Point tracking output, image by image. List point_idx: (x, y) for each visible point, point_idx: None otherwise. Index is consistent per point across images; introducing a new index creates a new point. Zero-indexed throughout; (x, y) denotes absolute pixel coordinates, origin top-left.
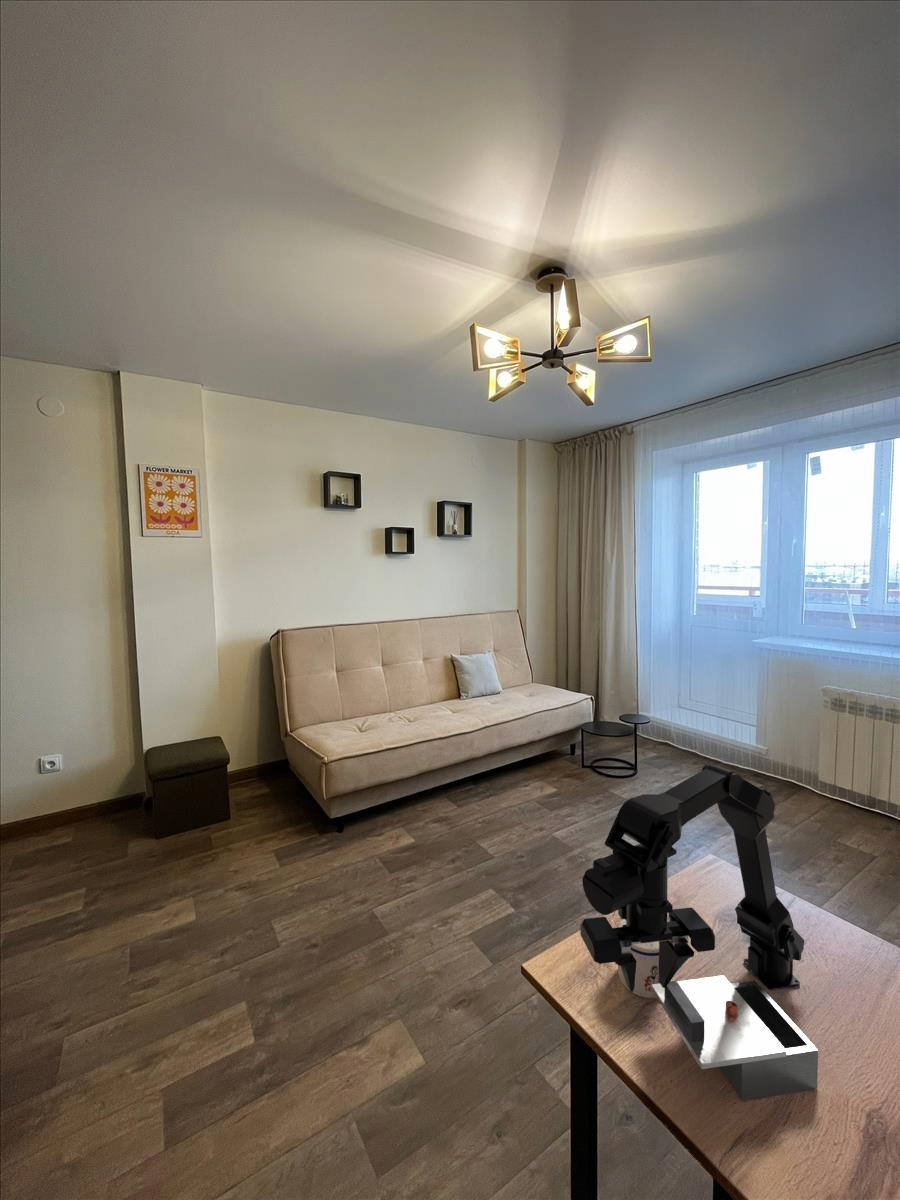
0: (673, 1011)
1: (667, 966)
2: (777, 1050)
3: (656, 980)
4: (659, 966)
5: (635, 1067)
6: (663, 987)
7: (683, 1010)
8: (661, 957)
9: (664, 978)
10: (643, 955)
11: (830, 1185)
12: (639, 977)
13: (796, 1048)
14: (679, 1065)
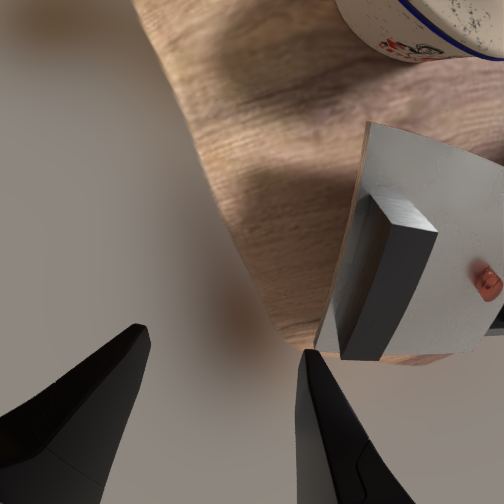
0: (358, 249)
1: (302, 488)
2: (464, 349)
3: (420, 56)
4: (310, 417)
5: (237, 187)
6: (298, 372)
7: (353, 330)
8: (319, 476)
9: (297, 419)
10: (419, 19)
11: (385, 360)
12: (375, 27)
13: (494, 330)
14: (335, 208)
